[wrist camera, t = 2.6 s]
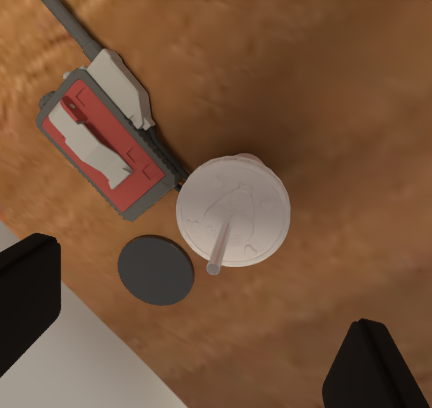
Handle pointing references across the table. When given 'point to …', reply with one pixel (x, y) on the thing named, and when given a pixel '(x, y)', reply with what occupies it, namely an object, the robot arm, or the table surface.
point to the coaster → (156, 270)
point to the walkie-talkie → (108, 127)
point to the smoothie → (233, 211)
